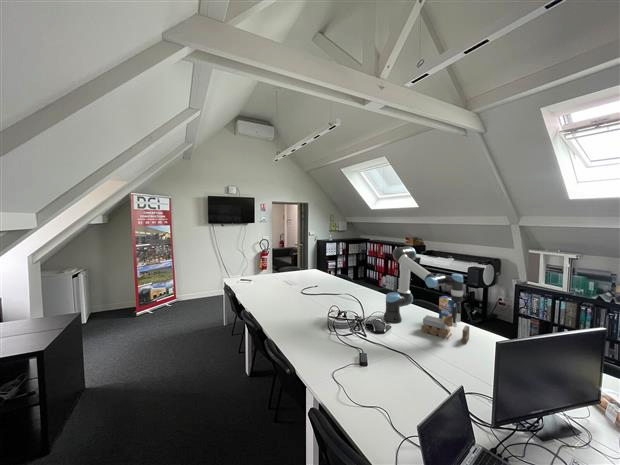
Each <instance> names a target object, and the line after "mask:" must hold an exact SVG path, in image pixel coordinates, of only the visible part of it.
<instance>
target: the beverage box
mask: <svg viewBox="0 0 620 465" xmlns="http://www.w3.org/2000/svg"><path fill="white" fill-rule="evenodd" d="M438 298H439V300H438V302H439V303H438V318H441V319H445V318H446V317H447V316H448V315H449V314H452V309H453V303H454V301H453V300H451V296H446V295H442V296H439V297H438Z"/></svg>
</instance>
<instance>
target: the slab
mask: <svg viewBox="0 0 620 465" xmlns="http://www.w3.org/2000/svg"><path fill="white" fill-rule="evenodd" d="M422 324H423V325H424V324H426V325H429V326H433V327H437V328H440V329H444V330H445V329H446V328H447V327H449V326H447V325H446V324H445V323H444V319H441V318H439V317H436V316H432V315H425V316H424V317H423V318H422Z"/></svg>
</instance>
